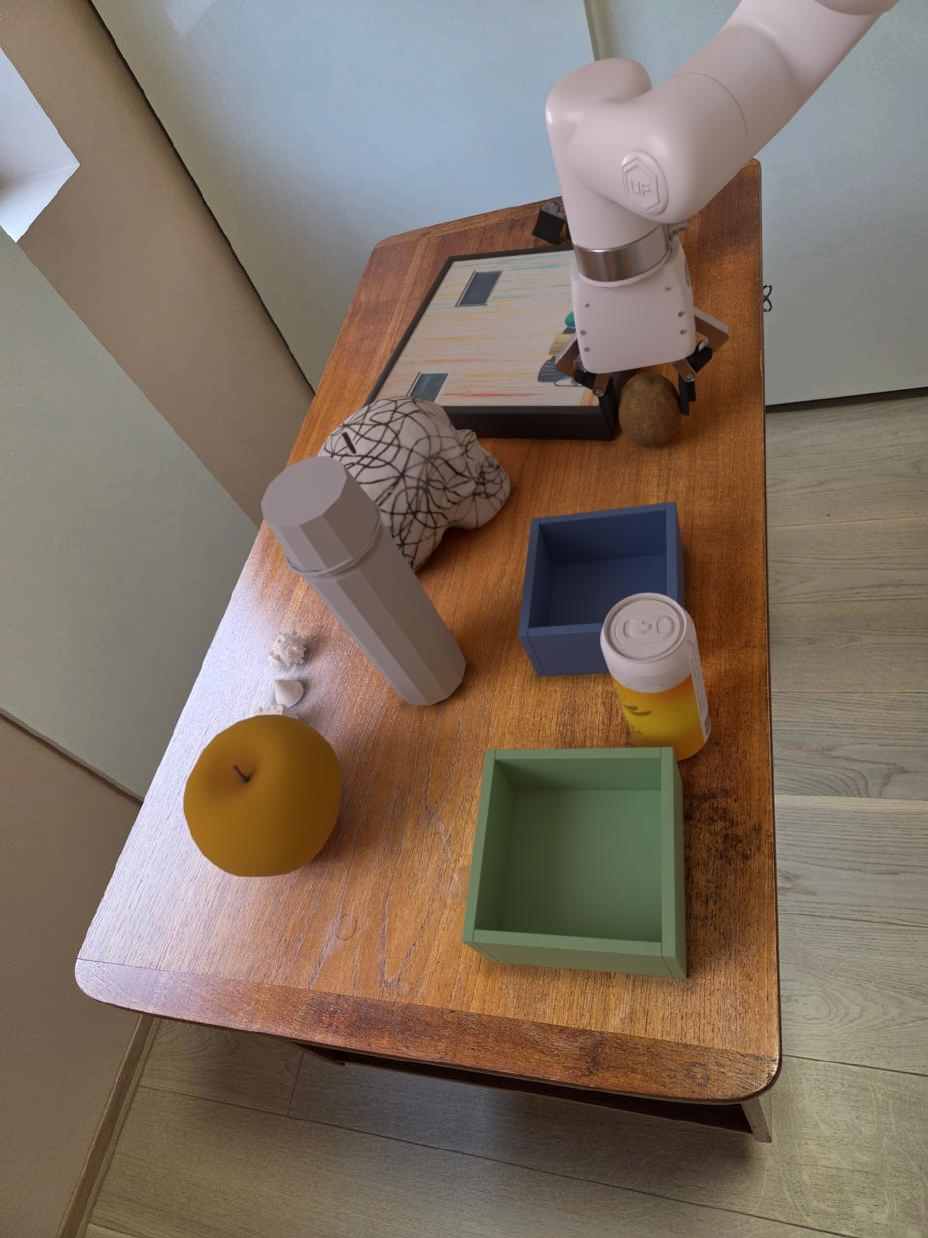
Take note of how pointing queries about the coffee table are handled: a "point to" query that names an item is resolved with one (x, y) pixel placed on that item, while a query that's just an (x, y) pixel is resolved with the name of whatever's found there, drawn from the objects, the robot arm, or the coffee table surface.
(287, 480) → the water bottle
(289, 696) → the seashells
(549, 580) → the blue bin
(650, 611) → the beer can
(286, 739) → the apple
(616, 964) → the green bin
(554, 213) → the lighter
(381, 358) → the coffee table surface
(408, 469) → the sculpture
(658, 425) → the fruit
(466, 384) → the framed painting
